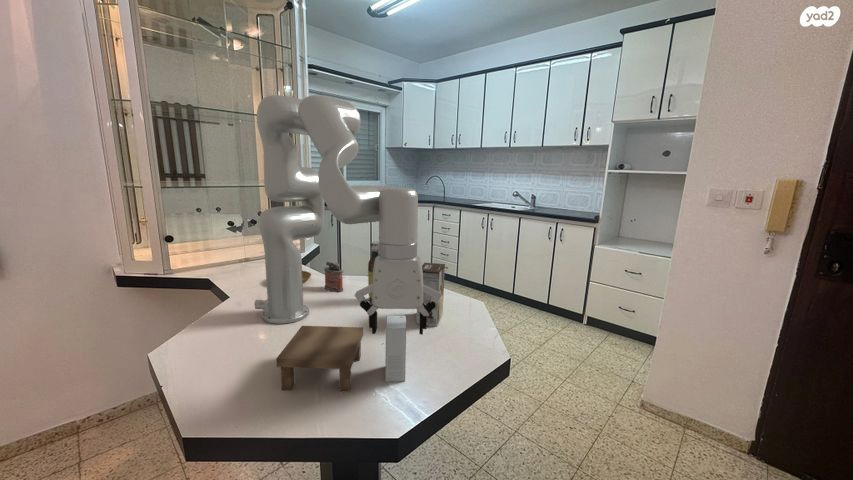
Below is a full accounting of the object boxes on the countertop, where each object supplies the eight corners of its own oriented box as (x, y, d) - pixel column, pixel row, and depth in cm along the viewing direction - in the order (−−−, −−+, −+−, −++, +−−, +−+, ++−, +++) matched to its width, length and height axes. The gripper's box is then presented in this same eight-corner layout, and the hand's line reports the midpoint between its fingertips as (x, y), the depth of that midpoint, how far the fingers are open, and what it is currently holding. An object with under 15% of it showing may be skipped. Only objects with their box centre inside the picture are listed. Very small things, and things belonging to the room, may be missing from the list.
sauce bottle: (381, 296, 118) (381, 239, 114) (391, 302, 113) (392, 243, 109) (364, 300, 114) (364, 241, 110) (374, 306, 109) (374, 245, 105)
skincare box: (385, 365, 76) (386, 315, 74) (404, 365, 76) (406, 315, 74) (384, 382, 70) (385, 328, 68) (405, 382, 70) (407, 327, 68)
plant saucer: (262, 288, 122) (262, 281, 121) (277, 276, 136) (277, 269, 136) (305, 289, 123) (305, 282, 122) (315, 276, 137) (315, 270, 137)
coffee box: (422, 312, 106) (424, 261, 103) (443, 314, 105) (445, 263, 101) (415, 324, 97) (417, 270, 94) (438, 327, 96) (440, 272, 93)
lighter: (345, 290, 122) (345, 263, 120) (338, 293, 119) (337, 265, 117) (329, 285, 126) (329, 259, 124) (322, 288, 123) (321, 261, 122)
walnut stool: (278, 391, 66) (276, 358, 65) (303, 353, 80) (301, 325, 78) (351, 393, 66) (350, 360, 65) (363, 355, 80) (363, 327, 79)
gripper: (350, 254, 64) (352, 339, 67) (442, 255, 64) (440, 340, 67) (358, 246, 71) (359, 323, 75) (440, 247, 72) (438, 324, 75)
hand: (398, 331), depth 71 cm, fingers open, 9 cm apart
